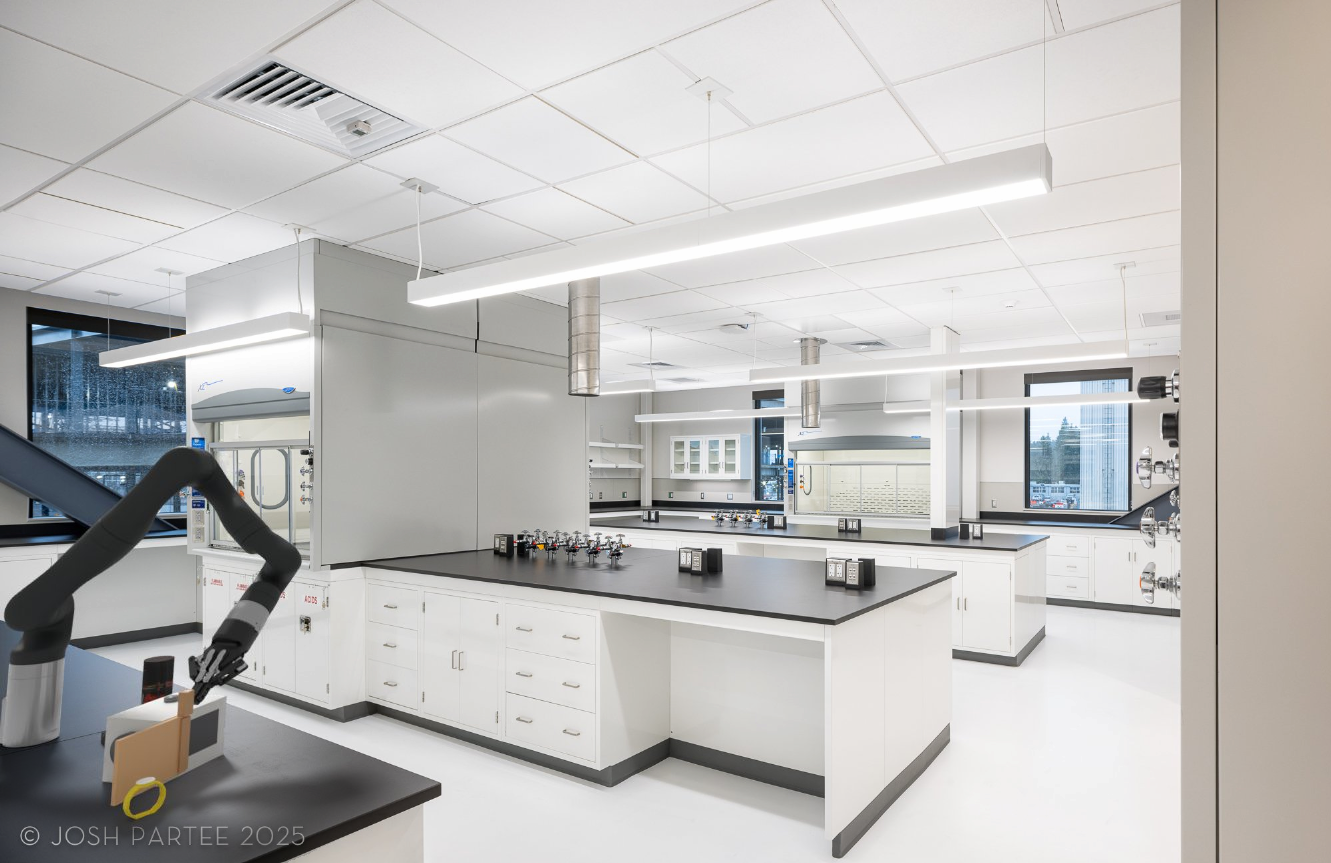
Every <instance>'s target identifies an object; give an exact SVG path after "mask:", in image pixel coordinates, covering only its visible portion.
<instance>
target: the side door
mask: <svg viewBox="0 0 1331 863" xmlns="http://www.w3.org/2000/svg"><path fill="white" fill-rule="evenodd" d="M178 693H179V696H178V712H177V717H174V718H172V719H169V720H166V721H164V722H161V723H159V724H156V725H154V726H151V727H149V728H146V729H144V730H141V731H139V732H136V733H134V734H131V735H129V736H126V737H124V738H121V739H118V740H116V741H115V753H114V767H113V781H112V782H111V783H112V785H111V800H110V806H112V807H115V806H116V807H117V806H118V805H119V804H122V803H124V799H125V797H126V795H127V794H128V792H129V791H130V790H131V789H132V788H133V787H134V786H135V785H136V782H137V781H138V780H140V779H143V778H147V777H154V778H155V779H156V781H159V782H161V783H162V782H164V781H166V780H168V779H170V778H173V777H175V776H177V775H179V774H181V773H183V772H185V771H186V769H188V755H189V739H190V724H191V716H189V715H190V714H193V705H194V690H191V689H188V688H187V689H185V690H182V691H179V692H178ZM156 785H157V784H155V783H154V784H153V785H151V786H149V787H145V788H140V789H139V790H138V791H137V792H135V794H134V795H133V797H136V796H137V795H140V794H143V793H144V792H147V791H148V790H150V789H152V788H154V787H155V786H156ZM133 797H132V798H133Z"/></svg>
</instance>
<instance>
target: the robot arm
mask: <svg viewBox="0 0 1331 863" xmlns="http://www.w3.org/2000/svg"><path fill="white" fill-rule="evenodd" d="M185 487H188V488H192V489H193V490H194V491H196V492H198V494H200V496H203V498H204V499H206V501H208V503H209V504H210V505H211V506H212V508H213V510H214V512H216V514H217V517H218V519H219V521H220V523H221V525H222V527H224V529H225V531H226V532H227V533H228V535H230V537H231V538H232V539H233V540H234V541H235V542H236V543H237V545H238V546H239V547H240V548H241V549H242V550H243V551H244V552H245V553H246V554H249V555H256V554H257V555H259V556H260V557H261V558H262V559H263V560H264V561H265V562H264V564H263V565H262V567H261V569H260V571H259V572H258V573H257V574H256V576H255V578H254V580H253V582H252V583H251V584H250V585H249V586H248V587H247V588H246V589H245V591H244V593H243V594H242V595H241V596H240V598H239V600H238V601H237V603H236V604H235V605H234V606H233V607H232V609H231V610H230V611H229V612H228V614H227V615H226V617H225V618H224V620H222V622H221V624H220V625H219V627H218V628H217V630H216V631H215V633H214V634H213V636H212V638H211V643H210V645H209V646H207V647H206V649H204V651H203V653H202V654H199V655H197V656H195V655H190V656H189V657H188V660H187V662H188V663H187V664H188V673H189V674H188V675H189V679H190V680H192V682H193V683H194V685H193V686H192V687H191V689H190V690H194V705H199V704H200V702H202V701H203V700H204V699H205V697H206V695H209V692H210V691H211V689H213V688H215V687H216V686H219V687H222V686H225V685H226V684H227V683H228V682H230V681H231V680H234V679H235V678H236V677H237V676H239V675H240V674H242V673H243V672H245V671H247V669H248V668H249V665H248V664H247V662H246V661H245V660H244V657H245V655H247V653H248V652H249V651H250V650H251V648H252V646H253V645H254V643H255V641H256V640H257V638H258V636H259V634H260V633H261V632H262V630H263V629H264V627H265V625H266V624H267V621H268V618H269V617H270V616H271V614H272V612H273V611H274V609H275V607H276V606H277V604H278V602H279V600H280V598H281V595H282V594H283V593H284V591H285V590H286V589H287V587H288V586H289V585H290V583H291V581H292V580H293V579H294V577H295V575H297V573H298V571H299V570H300V569H301V566H302V562H303V559H302V555H301V552H300V551H299V550H298V549H297V547H296V546H295V545H293V544H292V543H291V542H289V541H288V540H286V539H285V538H284V537H282V536H281V535H279V534H277V533H276V532H274V531H273V530H272V529H271V527H269V525H268V524H267V523H266V522H265V521H264V520H263V519H262V518H261V517H260V516H259V515H258V513H257V512H255V510H253V509H252V507H251V506H250V505H249V503H247V502H246V501H245V499H244V498H243V497H242V496H241V494H240V493H239V492H238V491H237V489H236V488H235V486H234V485H233V484H232V482H231V481H230V480H229V478H228V476H227V475H226V473H225V472H224V470H223V468H222V467H221V465H220V463H219V462H218V460H217V459H216V458H215V456H214V455H213V454H212V453H211V452H210V451H208V450H206V449H203V448H199V447H194V446H189V445H181V446H175V447H173V448H171V449H169V450H168V451H166V452H165V453H164V454H163V455H162V456H161V457H160V458H159V459H158V460H157V461H156V462H155V463H154V464H153V466H152V467H151V468H150V469H149V470H148V472H147V473H146V474H145V475H144V476H143V477H142V478H141V479H140V481H139V482H138V483H137V484H136V485H135V486H133V488H132V489H131V490H130V491H129V492H128V493H126V494H125V495H124V496H123V497H122V498H121V499H120V500H118V502H117V503H116V504H115V505H113V506H112V508H110V509H109V510H108V511H106V513H104V514H103V515H102V517H100V518H99V519H98V520H97V521H96V522H95V523H94V524H93V525H92V526H91V527H89V529H87V531H85V532H84V533H83V534H82V535H81V537H80V538H79V539H77V541H75V542H74V543H73V544H72V545H71V546H70V547H69V548H68V549H67V550H66V551H65V552H64V553H63V554H62V555H61V556H60V557H59V558H58V559H57V560H56V561H55V562H54V563H53V564H52V565H51V566H50V567H48V569H46V570H45V571H44V572H43V573H42V574H41V573H40V574H41V575H39V576H37V577H36V578H35V579H33V580H32V581H31V582H29V584H27V585H26V586H25V587H23V588H22V589H21V590H20V591H18V592H17V593H16V594H14V595H13V597H11V598H10V600H9V601H8V602H7V603H6V606H5V608H4V612H3V619H4V622H5V624H6V626H7V627H8V628H9V629H11V630H12V631H15V632H20V633H22V636H21V638H20V640H19V641H18V643H16V644H15V646H14V647H13V648H12V649H11V651H10V653H9V660H8V663H9V664H8V672H7V673H8V674H7V686H6V696H5V697H3V699H2V702H1V711H0V712H1V714H0V744H2V746H3V747H6V748H22V747H29V746H31V747H32V746H36V745H41V744H44V743H47V742H50V741H52V740H54V739H56V738H58V737H60V729H61V716H62V703H63V702H62V700H63V689H64V678H65V677H64V676H65V675H64V674H65V662H66V661H65V660H66V652H67V648H68V646H69V644H70V642H71V640H72V633H73V628H74V619H75V610H76V608H75V599H74V596H73V595H74V594H75V593H76V592H77V591H78V590H79V589H80V588H82V586H84V585H85V584H86V583H87V582H90V581H91V580H93V579H95V578H96V577H97V576H100V575H101V574H102V573H104V572H105V571H106V570H108V569H110V568H111V567H113V566H114V565H115V564H117V563H118V562H120V561H121V560H122V559H123V558H124V557H126V556H127V555H128V554H130V552H131V551H133V549H135V547H136V546H138V545H139V543H141V542H142V541H143V539H144V538H145V537H146V536H147V535H148V533H149V531H151V530H150V529H151V528H152V525H153V524H154V522H155V520H156V517H157V515H158V514H159V511H160V510H161V509H162V508H163V506H165V505H166V504H167V502H168V501H169V500H170V499H172V498H173V497H175V495H176V494H178V493H179V492H180V491H182V490H183V489H185Z"/></svg>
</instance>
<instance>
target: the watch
mask: <svg viewBox="0 0 1331 863" xmlns="http://www.w3.org/2000/svg"><path fill="white" fill-rule="evenodd" d="M154 783H155V784H157V785H158V788H159V796H158V799H157V801H156V803H155V804H154V805H153V806H152V807H151V808H150V809H148V810H145V811H143V812H139V813H137V814H135V815H134V814H133V813H131V810H130V804H131V801H132V799H133V795H134V794H135V792H137V791H138V790H139V789H140V788H145V787H149V786H151V785H153V784H154ZM166 796H167V789H166V786H165V785H164V784H162V783H161V782H159V781H156V779H155V778H154V777H147V778H143V779H140V780H138V781H137V782H136V785H135V786H134V787H133V788H132V789H131V790H130V791H129V792H128V794H127V795H126V797H125V799H124V802H122V803H123V804H122V810H123V812H124V814H125V815H126V816H128V817H130V818H132V819H134V820H139V819H142V818H143V817H147V816H149V815H152V814H154V813H157V812H158V810H159V809H160V808H161V807H162V805H163V803H164V801H165V799H166Z"/></svg>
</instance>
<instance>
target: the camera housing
mask: <svg viewBox="0 0 1331 863" xmlns="http://www.w3.org/2000/svg"><path fill="white" fill-rule="evenodd" d="M178 696H179V692H172V694H171V695H168V696H165V697H162V698H159V699H156V700H154V701H151V702H148V703H145V704H142V705H141V704H140V705H136V706H135V707H131V708H129V709H126V710H123V711H121V712H117V713H115V714H112V715H109V716H107V717H106V726H105V731H106V737H105V745H104V751H103V752H104V754H103V767H102V768H103V769H102V782H103V783H112V781H113V767H114V753H115V741H116V740H118V739H121V738H124V737H126V736H129V735H131V734H134V733H136V732H139V731H141V730H144V729H146V728H149V727H151V726H154V725H156V724H159V723H161V722H164V721H166V720H169V719H172V718H174V717H177V712H178ZM227 698H228V697H227V695H219V694H207V695H206V697H205V699H204V700H203V701H202V702H200V704H199V705H193V714H190V715H189V716H191V724H190V739H189V755H188V769H186V771H185V772H183V773H181V774H179V775H177V776H175V777H173V778H170V779H168V780H166V781H164V782H162V784H163V785H164V784H166V783H168V782H171V781H173V780H174V779H177V778H178V777H180V776H183V775H185V774H186V773H189V772H190V771H192V770H195V769H196V768H198V767H201V766H202V765H205V764H206V763H208V762H210V761H212V760H215V759H216V758H218V757H220V756H222V755H224V751H225V750H224V749H225V748H224V747H225V734H226V733H225V728H226V717H227V716H226V715H227V713H226V712H227V700H228V699H227ZM154 787H155V788H156V787H157V788H159V786H158V785H156V786H154Z"/></svg>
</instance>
